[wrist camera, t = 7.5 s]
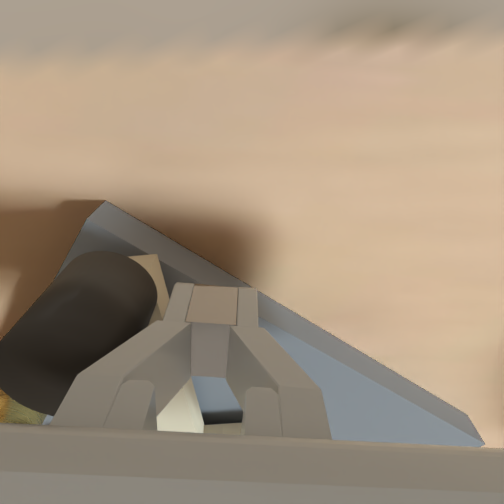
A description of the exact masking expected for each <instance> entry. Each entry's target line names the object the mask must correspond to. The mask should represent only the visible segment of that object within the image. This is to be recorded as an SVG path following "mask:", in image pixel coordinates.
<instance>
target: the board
mask: <svg viewBox="0 0 504 504" xmlns="http://www.w3.org/2000/svg"><path fill="white" fill-rule="evenodd" d="M93 251H110V252H115V253H118V254H122V255H124V256H127V257H128V256H140V255H151V254H157V256H158V259H159V263H160V266H161V270H162V274H163V277H164V281H165V284H166V288H167V292H168V295H169V299H170V296H171V294H172V291H173V288H174V285H175V284H176V283H177V282H182V283H194V284H205V285H215V286H226V287H237V288H239V287H248V288H252V287H250V286H249V285H247V284H245V283H244V282H242V281H240V280H239V279H237V278H235V277H234V276H232V275H230V274H229V273H227V272H225V271H223V270H222V269H220V268H218V267H217V266H215V265H213V264H212V263H210V262H208V261H207V260H205V259H203V258H202V257H200V256H198V255H196V254H195V253H193V252H191V251H190V250H188V249H186V248H185V247H183V246H181V245H180V244H178V243H176V242H175V241H173V240H171V239H169V238H168V237H166V236H164V235H163V234H161V233H159V232H158V231H156V230H154V229H153V228H151V227H149V226H148V225H146V224H144V223H142V222H141V221H139V220H137V219H136V218H134V217H132V216H131V215H129V214H127V213H126V212H124V211H122V210H121V209H119V208H117V207H116V206H114V205H112V204H110V203H109V202H107V201H105V202H104V203H102V204H101V205H100V206H99V207H98V208H97V209H96V210H95V211H94V212H93V213H92V214H91V215H90V216H89V217H88V218H87V219H86V221H85V223H84V225H83V227H82V229H81V231H80V232H79V234H78V236H77V238H76V240H75V242H74V244H73V246H72V247H71V249H70V251H69V253H68V255H67V257H66V259H65V261H64V262H63V264H62V266H61V268H60V270H59V272H58V274H57V276H56V277H55V279H56V278H57V277H58V275H59V274H60V273H61V272H62V271H63V270H64V269H65V268H66V266H67V265H68V264H69V263H70V262H71V261H72V260H73V259H75V258H76V257H78V256H79V255H82V254H84V253H88V252H93ZM55 279H54V280H55ZM257 300H258V327H261V328H265V329H266V331H267V332H268V333H269V334H270V335H271V336H272V337H273V338H274V339H275V340H276V341H277V342H278V344H279V345H280V346H281V347H282V348H283V349H284V350H285V351H286V352H287V353H288V354H289V355H290V357H291V358H292V359H293V360H294V361H295V362H296V363H297V364H298V365H299V366H300V367H301V368H302V370H303V371H304V372H305V373H306V374H307V375H308V376H309V377H310V378H311V379H312V380H313V381H314V382H315V384H316V385H317V386H318V387H319V388H320V389H321V391H322V395H323V400H324V404H325V409H326V413H327V418H328V423H329V427H330V432H331V436H332V440H350V441H369V442H389V443H408V444H427V445H446V446H466V447H481V446H483V445H484V444H485V443H484V441H483V440H482V438H481V436H480V435H479V433H478V432H477V430H476V428H475V427H474V425H473V423H472V422H471V420H470V419H469V417H468V415H466V414H465V413H463V412H461V411H460V410H458V409H456V408H455V407H453V406H451V405H449V404H448V403H446V402H444V401H443V400H441V399H439V398H438V397H436V396H434V395H433V394H431V393H429V392H428V391H426V390H424V389H422V388H421V387H419V386H417V385H416V384H414V383H412V382H411V381H409V380H407V379H406V378H404V377H402V376H401V375H399V374H397V373H395V372H394V371H392V370H390V369H389V368H387V367H385V366H384V365H382V364H380V363H379V362H377V361H375V360H374V359H372V358H370V357H368V356H367V355H365V354H363V353H362V352H360V351H358V350H357V349H355V348H353V347H352V346H350V345H348V344H347V343H345V342H343V341H342V340H340V339H338V338H336V337H335V336H333V335H331V334H330V333H328V332H326V331H325V330H323V329H321V328H320V327H318V326H316V325H315V324H313V323H311V322H309V321H308V320H306V319H304V318H303V317H301V316H299V315H298V314H296V313H294V312H293V311H291V310H289V309H288V308H286V307H284V306H282V305H281V304H279V303H277V302H276V301H274V300H272V299H271V298H269V297H267V296H266V295H264V294H262V293H261V292H259V291H257ZM191 378H192V382H193V385H194V389H195V393H196V396H197V400H198V403H199V407H200V411H201V414H202V418H203V421H204V425H213V424H228V423H242V418H243V410H242V409H241V407H240V405H239V403H238V401H237V399H236V398H235V396H234V394H233V392H232V390H231V389H230V387H229V385H228V383H227V381H226V378H217V377H203V376H191ZM53 417H54V416H50V415H47V416H46V418H45V420H44V422H43V423H42V425H50V423H51V421H52V419H53Z"/></svg>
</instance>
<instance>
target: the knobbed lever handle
mask: <svg viewBox="0 0 504 504" xmlns="http://www.w3.org/2000/svg"><path fill="white" fill-rule="evenodd" d="M168 302H169V295H168V292H167V288H166V284H165V281H164V277H163V274H162V270H161V266H160V263H159V259H158V256H157V254H151V255H140V256H128V257H127V256H124V255H122V254H118V253H115V252H110V251H93V252H88V253H84V254H82V255H79V256H78V257H76V258H75V259H73V260H72V261H71V262H70V263H69V264H68V265H67V266H66V268H65V269H64V270H63V271H62V272H61V273H60V274H59V275H58V277H57V278H56V279H55V280H54V281H53V282H52V283H51V285H50V286H49V287H48V288H47V289H46V290H45V291H44V292H43V294H42V295H41V296H40V297H39V298H38V299H37V300H36V302H35V303H34V304H33V305H32V306H31V307H30V308H29V309H28V311H27V312H26V313H25V314H24V315H23V316H22V317H21V318H20V320H19V321H18V322H17V323H16V324H15V325H14V326H13V328H12V329H11V330H10V331H9V332H8V333H7V334H6V335H5V337H4V338H3V339H2V340H1V341H0V388H1V389H2V390H3V391H4V392H5V393H6V394H7V395H8V396H9V397H11V398H12V399H13V400H15V401H16V402H18V403H19V404H21V405H23V406H25V407H27V408H29V409H32V410H34V411H37V412H39V413H43V414H46V415H50V416H55V414H56V412H57V410H58V408H59V407H60V405H61V403H62V401H63V399H64V398H65V396H66V394H67V392H68V390H69V389H70V387H71V385H72V383H73V381H74V380H75V378H76V376H77V375H78V374H79V373H80V372H82V371H83V370H85V369H86V368H88V367H89V366H91V365H92V364H94V363H95V362H97V361H98V360H99V359H101V358H102V357H104V356H105V355H107V354H108V353H110V352H111V351H113V350H114V349H116V348H117V347H118V346H120V345H121V344H123V343H124V342H126V341H127V340H129V339H130V338H132V337H133V336H135V335H136V334H137V333H139V332H140V331H142V330H143V329H145V328H146V327H148V326H149V325H151V324H152V323H154V322H155V321H156V320H160V321H162V320H163V317H164V314H165V311H166V308H167V305H168ZM241 425H242V423H228V424H213V425H204V421H203V418H202V414H201V411H200V407H199V403H198V400H197V396H196V393H195V389H194V385H193V382H192V378H191V376H190V379H189V380H188V381H187V383H186V384H185V385H184V386H183V387H182V388H181V389H180V391H179V392H178V393H177V394H176V395H175V396H174V398H173V399H172V400H171V401H170V402H169V403H168V404H167V406H166V407H165V408H164V409H163V410H162V411H161V413H160V414H159V415H158V416H157V431H175V432H194V433H214V434H233V435H240V432H241Z"/></svg>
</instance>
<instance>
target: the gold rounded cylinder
mask: <svg viewBox="0 0 504 504" xmlns="http://www.w3.org/2000/svg"><path fill="white" fill-rule="evenodd" d="M46 416H47V415H46V414H43V413H39V412H37V411H34V410H32V409H29V408H27V407H25V406H23V405H21V404H19V403H18V402H16V401H15V400H13V399H12V398H11V397H9V396H8V395H7V394H6V393H5V392H4V391H3V390H2V389H1V388H0V423H19V424H39V425H42V423H43V422H44V420H45V418H46Z"/></svg>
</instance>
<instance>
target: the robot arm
mask: <svg viewBox="0 0 504 504" xmlns="http://www.w3.org/2000/svg"><path fill="white" fill-rule="evenodd" d="M190 376H203V377H217V378H226V381H227V383H228V385H229V387H230V389H231V390H232V392H233V394H234V396H235V398H236V399H237V401H238V403H239V405H240V407H241V409H242V410H243V418H242V425H241V432H240V435H233V434H214V433H194V432H175V431H157V416H158V415H159V414H160V413H161V411H162V410H163V409H164V408H165V407H166V406H167V404H168V403H169V402H170V401H171V400H172V399H173V398H174V396H175V395H176V394H177V393H178V392H179V391H180V389H181V388H182V387H183V386H184V385H185V384H186V383H187V381H188V380H189V379H190ZM0 504H504V448H485V447H466V446H446V445H427V444H408V443H389V442H369V441H350V440H332V436H331V432H330V427H329V423H328V418H327V413H326V409H325V404H324V400H323V395H322V391H321V389H320V388H319V387H318V386H317V385H316V384H315V382H314V381H313V380H312V379H311V378H310V377H309V376H308V375H307V374H306V373H305V372H304V371H303V370H302V368H301V367H300V366H299V365H298V364H297V363H296V362H295V361H294V360H293V359H292V358H291V357H290V355H289V354H288V353H287V352H286V351H285V350H284V349H283V348H282V347H281V346H280V345H279V344H278V342H277V341H276V340H275V339H274V338H273V337H272V336H271V335H270V334H269V333H268V332H267V331H266V329H265V328H261V327H258V300H257V289H256V288H248V287H239V288H237V287H226V286H215V285H205V284H194V283H182V282H177V283H176V284H175V285H174V288H173V291H172V294H171V296H170V299H169V302H168V305H167V308H166V311H165V314H164V317H163V320H162V321H160V320H156V321H155V322H154V323H152V324H151V325H149V326H148V327H146V328H145V329H143V330H142V331H140V332H139V333H137V334H136V335H135V336H133V337H132V338H130V339H129V340H127V341H126V342H124V343H123V344H121V345H120V346H118V347H117V348H116V349H114V350H113V351H111V352H110V353H108V354H107V355H105V356H104V357H102V358H101V359H99V360H98V361H97V362H95V363H94V364H92V365H91V366H89V367H88V368H86V369H85V370H83V371H82V372H80V373H79V374H78V375H77V376H76V378H75V380H74V381H73V383H72V385H71V387H70V389H69V390H68V392H67V394H66V396H65V398H64V399H63V401H62V403H61V405H60V407H59V408H58V410H57V412H56V414H55V416H54V417H53V419H52V421H51V423H50V425H39V424H19V423H0Z"/></svg>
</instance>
